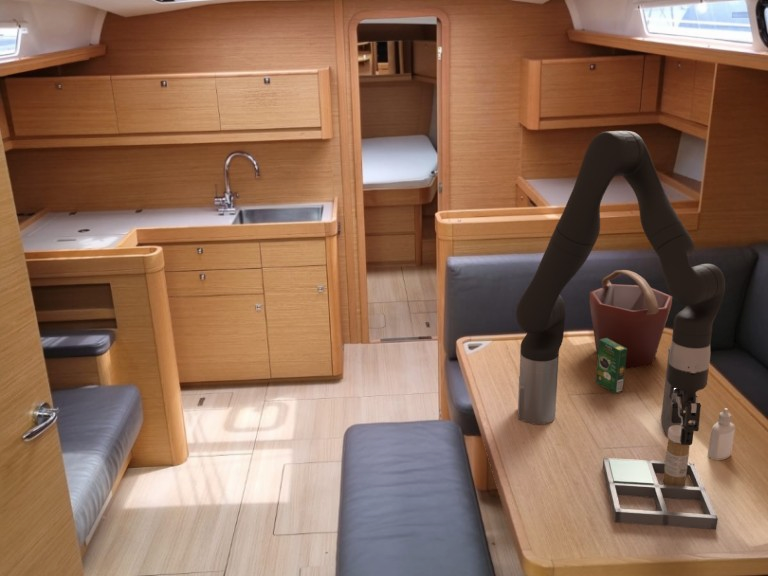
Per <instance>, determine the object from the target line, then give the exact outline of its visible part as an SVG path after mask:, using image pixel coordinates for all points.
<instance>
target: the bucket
mask: <svg viewBox="0 0 768 576" xmlns="http://www.w3.org/2000/svg"><path fill="white" fill-rule="evenodd" d="M621 275H624V276H627V277H628V278H630V279H632V280H633V281H634V282H635V283H636V284H637V285H636V284H633V285H632V284H619V283H618V284H616V283H612V282H611V281H610V280H615V279H616V278H618V277H620V276H621ZM601 285H602V287H600V288H597V289H594V290H591V291H590V292H589V308H590V316H591V322H592V328H593V330H592V331H593V336H594V337H593V338H594V344H595V351H596V352H597V353H596V354H598V351H599V340H600V339H604V338H608V339H610V340H612V341H613V342H615V343H617V344H619V345H621V346H623V347H625V348H627V356H626V364H625V369H626V370H627V369H634V368H635V369H636V368H644V367H645V368H646V367H652V365H653V364H654V360H655V357H656V355H657V352H658V349H659V346H660V342H661V340H662V337H663V333H664V330H665V327H666V325H667V324H666V323H667V321H668V317H669V314H670V311H671V308H672V303H673V297H672V295H671V294H667V293H664V292H662V291H660V290H658V289H656V288H653V287H651V286H650V284H649V283H648V282H647V280H646V279H645V278H644V277H643V276H641V275H640V274H638V273H636V272H634V271H632V270H627V269H622V270H614V271H613V272H612V273H610V274H608V275H606V276H605V277H604V278H602V280H601Z"/></svg>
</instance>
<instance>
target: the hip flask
mask: <svg viewBox="0 0 768 576" xmlns="http://www.w3.org/2000/svg"><path fill="white" fill-rule="evenodd" d="M670 347H671V345H670V346H668V349H667V350H668V354H667V362H666V363H667V364H666V372H665V373H666V374H665V382H664V388H663V399H662V407H661V408H662V409H661V415H660V416H661V418H660V422H661V428H662V431H663V434H664V436H665V437H666V438H667V439H668V429H669V427H671V426H673V425H682V424H681V423H672V422H671V413H672V405H671V400H672V399H670V397H669V395H670V388H671V385H670V384H669V383H668V381H667V372H668V362H669V352H670Z"/></svg>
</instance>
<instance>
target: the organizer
mask: <svg viewBox="0 0 768 576" xmlns="http://www.w3.org/2000/svg"><path fill="white" fill-rule="evenodd" d="M602 459H603V460H602V471H603V474H604V475H603V476H604V481H605V484H606V489H607V494H608V497H609V501H610V506H611V511H612V516H613V521H614V523H621V524H624V523H625V524H637V525H650V526H651V525H653V526H664V527H665V526H667V527H681V528H694V529H695V528H696V529H709V530H716V529H717V527H718V526H717V525H718V519H719V518H718V516H717V512H716V511H715V509H714V507H713V504H712V502H711V499H710V497H709V495H708V492H707V490H706V488H705V486H704V484H703V480H702V478H701V476H700V475H699V474H700V473H699V471H698V470H697V467H696V465H695V462H688V465H687V473H686V476H689V479H690V482H691V484H692V486H686V485H685V486H671V485H664V484H659V481H658V478H657V476H656V474H663V475H664V467H665V460H650V459H648V460H647V459H633V458H631V459H629V458H616V457H615V458H613V457H603V458H602ZM618 496H627V497H640V498H642V497H643V498H653V501H654V503H655V506H656V510H644V509H629V508H627V509H626V508H621V506H620V502H619V498H618ZM665 499H671V500H672V499H673V500H686V501H687V500H688V501H689V500H691V501H699V504H700V507H701V509H702V510H703V513H692V512H691V513H690V512H689V513H687V512H673V511H668V509H667V508H668V507H667V505H666V502H665Z"/></svg>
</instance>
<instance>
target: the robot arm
mask: <svg viewBox="0 0 768 576" xmlns="http://www.w3.org/2000/svg"><path fill="white" fill-rule="evenodd" d="M652 159H653V158H652V156H651V154H650V151H649V149H648V148H647V144H646V143H645V142H644V140H643V138H642V137H641V136H640V135H639V134H638V133H636V132H634V131H630V130H612V131H610V130H608V131H602V132H601V133H598V134H596V136H594V137H593V138H592V140H591V141H590V143H589V144H588V146H587V148H586V151H585V153H584V156H583V159H582V162H581V165H580V169H579V171H578V174H577V178H576V180H575V183H574V186H573V187H572V191H571V193H570V195H569V198H568V200H567V203H566V205H565V207H564V209H563V212H562V214H561V216H560V218H559V219H558V222H557V224H556V226H555V228H554V230H553V232H552V235H551V237H550V240H549V242H548V244H547V246H546V249H545V252H544V253H543V255H542V258H541V261H540V262H539V265H538V267H537V269H536V271H535V273H534V276H533V278H532V280H531V281H530V283H529V285H528V286H527V288H526V290H525V291H524V293H523V295H522V296H521V298H520V300H519V301H518V304H517V305H516V310H515V317H516V319H515V320H516V323H517V325H518V327H520V329H521V330H522V331H523V332H525V333H526V334H525V336H524V337H523V339H522V340H521V343H520V348H519V349H520V351H519V352H520V353H519V354H520V355H519V357H520V358H519V376H518V395H517V396H518V398H517V416H518V417H517V420H518V421H522V422H523V421H524V422H525V423H529V424H532V425H533V424H534V425H545V424H550V423H551V422H553V421H554V420H555V418H556V413H557V412H556V411H557V391H558V390H557V389H558V374H559V361H560V355H559V354H560V349H561V347H562V343H563V340H564V333H565V325H566V305H565V301H564V299H563V297H562V296H561V293H562V291H563V290H564V288H565V287H566V286H567V285H568V283H569V282H570V281H571V280H572V279H573V277H575V275H576V274H577V273H578V272H579V270H580V269H581V268H582V267H583V265H584V264H585V262H586V261H587V260H588V257H589V256H590V255H591V252H592V250H593V248H594V246H595V244H596V242H597V241H598V238H599V236H600V232H601V211H600V210H601V202H602V200H603V197H604V195H605V193H606V191H607V189H608V187H609V185H610V184H611V182H612V181H613V179H614V178H615V177H623V178H624V180H625V181H626V182H627V183H628V184H629V186H630V187H631V189H632V191H633V193H634V194H635V196H636V199H637V204H638V209H639V210H638V211H639V218H640V224H641V227H642V230H643V233H644V234H645V237H646V238H647V240H648V242H649V243H650V245H651V247H652V249H653V250H654V252H655V253H656V256H657V258H659V259H658V260H659V262H660V265H661V270H662V273H663V277H664V281H665V285H666V287H667V290H668V291H669V295H670V296H672V299H673V300H675V301H676V302H677V303H679V304H681V305H683V306H685V307H684V308H683V309H682V310H680V311H678V313H677V314H676V315H675V317H674V320H673V327H672V338H671V344H670V346H671V347H670V346H669V347H670V352H669V351H668V353H669V362H668V372H667V381H668V383H669V384H670V385H671V388H670V395H669V397H670V399H672V400H671V405H672V413H671V422H672V423H681V427H682V428H681V437H680V442H681V444H682V445H690V446H691V445H693V439H694V432H699V430H700V417H701V407H702V405H701V403H700V402H699V396H698V394H697V392H699V391H701V390H703V389H705V388H706V387H707V385H708V378H709V369H710V362H711V361H710V360H711V341H712V332H713V324H714V322H715V319H716V317H717V315H718V312H719V310H720V307H721V304H722V302H723V299H724V295H725V291H726V279H725V276H724V273H723V271H722V270H721V269H720V268H719V266H716V265H715V264H712V263H701V264H697V265H695V266H692V265H691V263H690V260H689V256H690V255H691V254H693V252H694V251H695V247H696V245H695V243H694V240H693V238H692V237H691V235H690V234H689V232H688V230H687V228H686V227H685V225H684V224H683V222H682V220H681V218H679V216H678V214H677V212H676V211H675V208H674V207H673V206H672V204H671V202H670V201H671V200H670V199H669V198H668V195H667V193H666V191H665V188H664V186H663V183H662V181H661V179H660V177H659V175H658V172H657V170H656V167H655V165H654V162H653V160H652ZM690 421H691V422H690Z"/></svg>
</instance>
